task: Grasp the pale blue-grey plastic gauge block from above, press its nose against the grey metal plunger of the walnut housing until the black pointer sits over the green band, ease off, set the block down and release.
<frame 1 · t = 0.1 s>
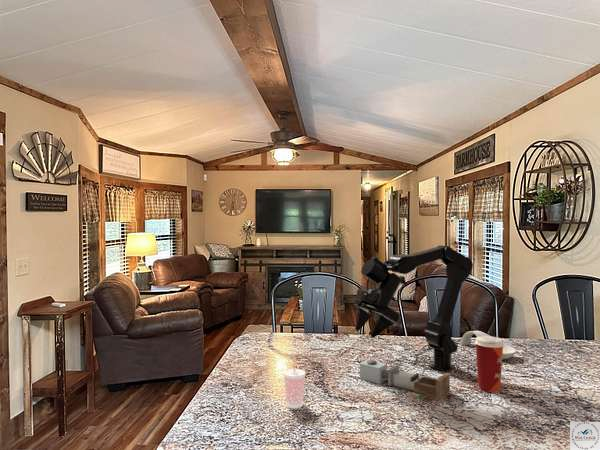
hand: (363, 333, 141), 15 cm above the kitchen island, tool tilted 30°, fingers open, 9 cm apart
beverage cup: (294, 405, 124), on the kitchen island
gauge: (373, 379, 143), on the kitchen island
housing: (430, 392, 132), on the kitchen island
coffee cup: (489, 389, 135), on the kitchen island
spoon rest: (486, 353, 171), on the kitchen island
plunger: (405, 379, 136), point 3 cm above the kitchen island, slide at 0.0 cm
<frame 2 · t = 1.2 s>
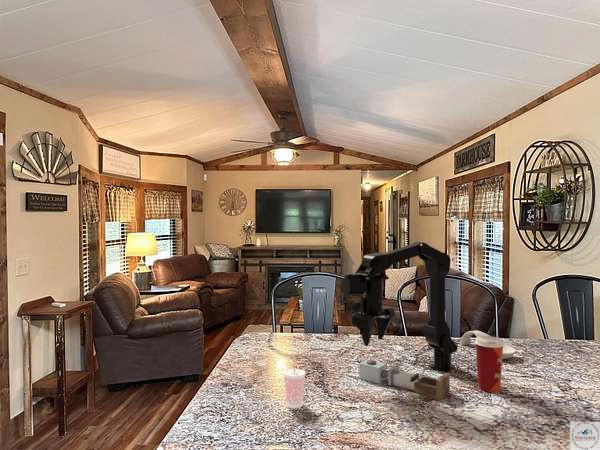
hand: (373, 342, 143), 12 cm above the kitchen island, tool pointing down, fingers open, 9 cm apart
nothing on the kitchen island moved.
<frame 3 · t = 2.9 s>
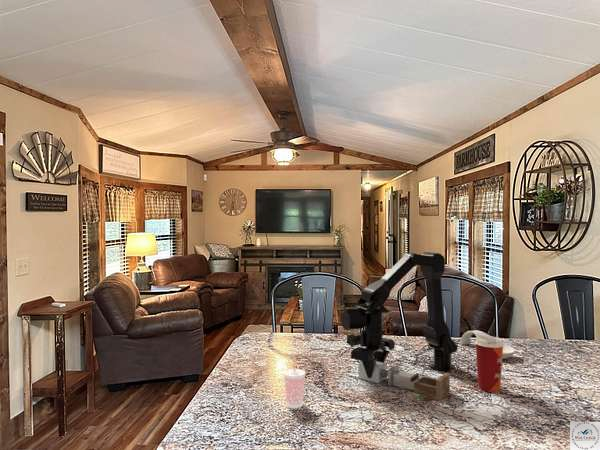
hand: (373, 375, 143), 1 cm above the kitchen island, tool pointing down, fingers closed on gauge, 5 cm apart
gauge: (372, 378, 144), on the kitchen island, touching gripper
everything else where it was.
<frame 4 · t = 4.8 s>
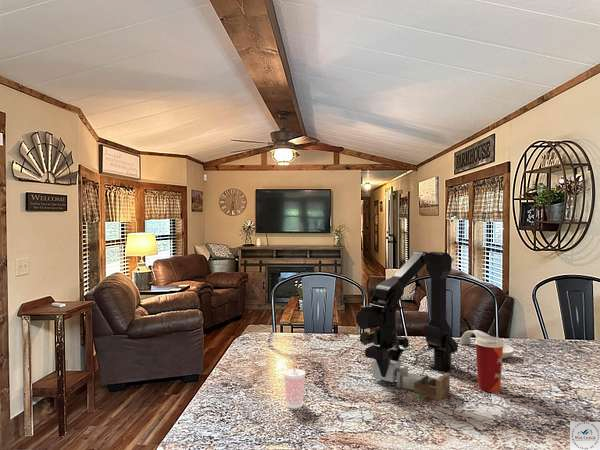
hand: (387, 374, 140), 2 cm above the kitchen island, tool pointing down, fingers closed on gauge, 5 cm apart
gauge: (386, 377, 141), point 1 cm above the kitchen island, touching gripper, plunger
plunger: (414, 381, 134), point 3 cm above the kitchen island, slide at 3.0 cm, touching gauge
everything else where it was.
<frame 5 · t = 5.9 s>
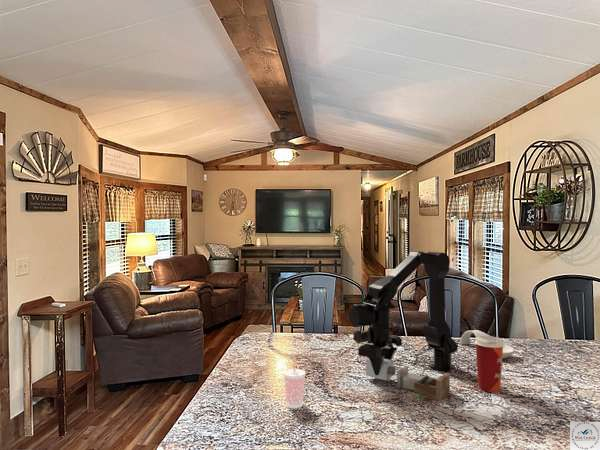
hand: (380, 372, 142), 3 cm above the kitchen island, tool pointing down, fingers closed on gauge, 5 cm apart
gauge: (379, 375, 142), point 1 cm above the kitchen island, touching gripper
plunger: (414, 381, 134), point 3 cm above the kitchen island, slide at 3.0 cm
when the fingers open (1 cm above the kitchen island, at t = 6.7 s): gauge stays where it is, on the kitchen island.
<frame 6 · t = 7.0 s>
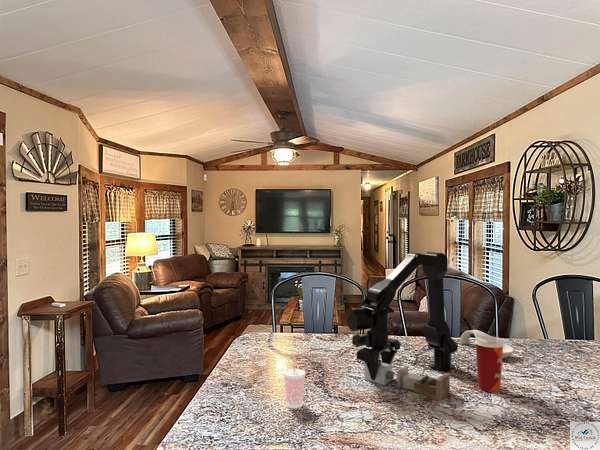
hand: (379, 376, 142), 1 cm above the kitchen island, tool pointing down, fingers open, 7 cm apart
gauge: (378, 380, 142), on the kitchen island
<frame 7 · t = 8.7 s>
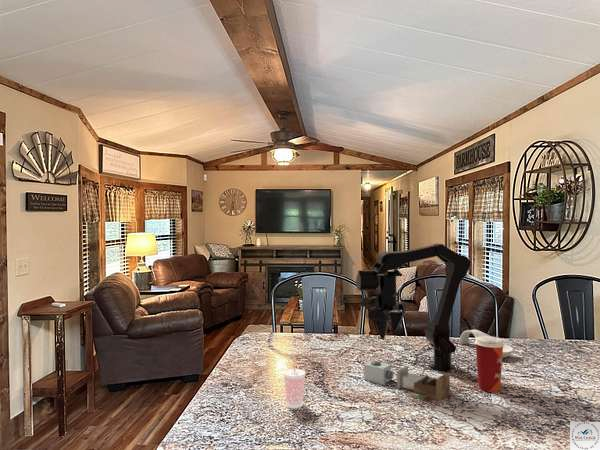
hand: (388, 335, 151), 12 cm above the kitchen island, tool pointing down, fingers open, 9 cm apart
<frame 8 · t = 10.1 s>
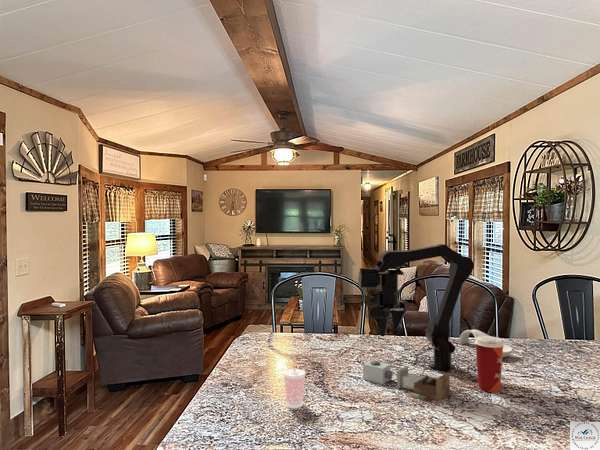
hand: (389, 333, 153), 12 cm above the kitchen island, tool pointing down, fingers open, 9 cm apart
at the end: plunger slide at 3.0 cm; gauge inside the target area (0.9 cm from its centre), on the kitchen island; the gripper is holding nothing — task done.
